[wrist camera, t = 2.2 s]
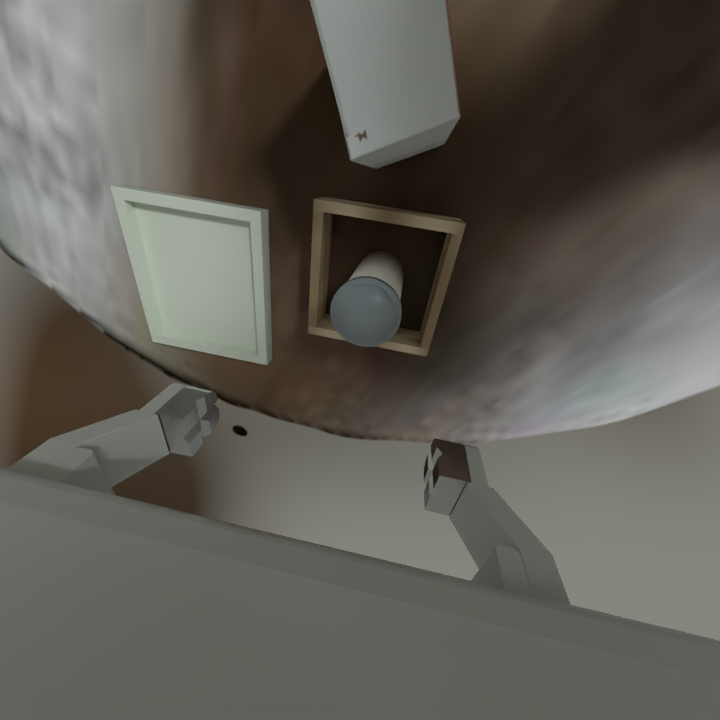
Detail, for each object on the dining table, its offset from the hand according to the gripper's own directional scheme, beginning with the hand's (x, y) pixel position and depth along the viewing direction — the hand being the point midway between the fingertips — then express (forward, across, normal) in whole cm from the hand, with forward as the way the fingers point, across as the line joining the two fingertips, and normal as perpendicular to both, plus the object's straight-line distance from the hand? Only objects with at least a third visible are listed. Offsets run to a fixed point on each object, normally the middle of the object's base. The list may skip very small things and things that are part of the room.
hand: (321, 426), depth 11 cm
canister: (+21, 0, 0) cm, 21 cm away
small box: (+21, +1, -13) cm, 25 cm away
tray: (+21, +18, +4) cm, 28 cm away
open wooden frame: (+21, 0, 0) cm, 21 cm away
